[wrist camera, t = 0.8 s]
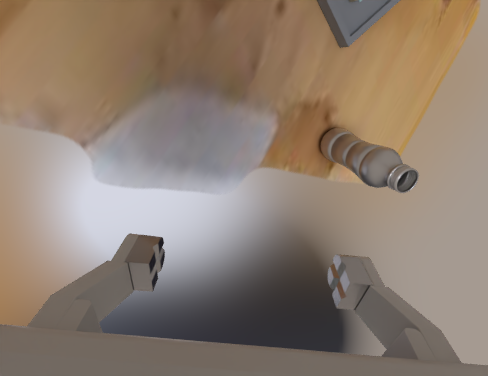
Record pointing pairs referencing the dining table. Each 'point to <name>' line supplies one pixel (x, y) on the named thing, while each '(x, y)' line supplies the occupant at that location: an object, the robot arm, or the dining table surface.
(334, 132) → the plastic bottle
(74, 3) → the dining table surface
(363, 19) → the pin tray
